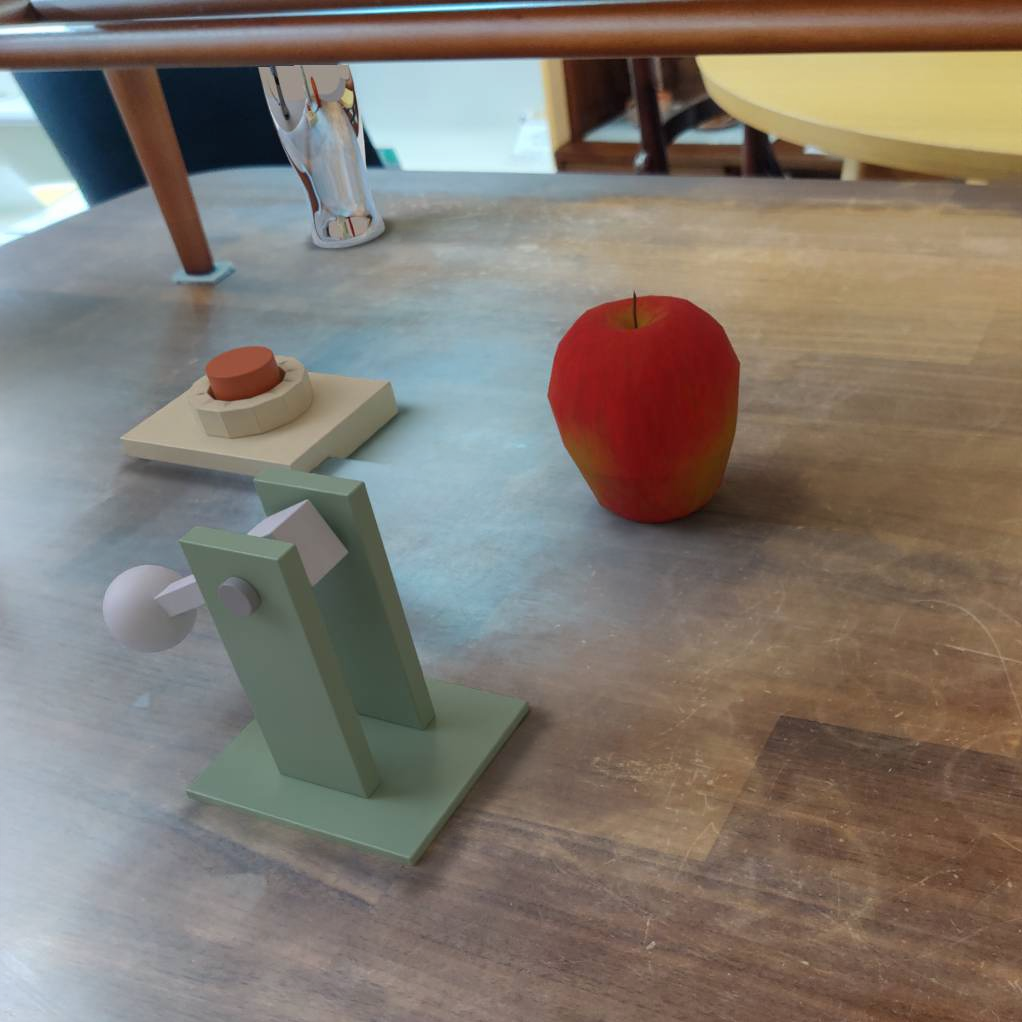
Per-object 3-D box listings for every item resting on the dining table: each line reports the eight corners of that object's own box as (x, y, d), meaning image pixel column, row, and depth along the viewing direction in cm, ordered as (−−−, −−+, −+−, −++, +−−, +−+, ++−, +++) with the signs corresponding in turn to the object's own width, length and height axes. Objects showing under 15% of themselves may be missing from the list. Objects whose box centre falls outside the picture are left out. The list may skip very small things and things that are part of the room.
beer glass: (362, 214, 105) (312, 26, 95) (406, 229, 100) (358, 34, 91) (293, 241, 101) (234, 49, 92) (335, 257, 97) (278, 58, 88)
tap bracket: (195, 813, 49) (64, 558, 41) (326, 674, 55) (234, 428, 47) (419, 883, 45) (322, 613, 37) (534, 724, 51) (472, 463, 43)
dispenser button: (201, 400, 71) (190, 373, 70) (244, 369, 74) (234, 343, 73) (253, 407, 69) (243, 380, 68) (295, 375, 72) (286, 348, 71)
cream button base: (132, 469, 73) (106, 410, 70) (238, 392, 80) (217, 335, 77) (301, 498, 68) (280, 436, 65) (399, 412, 75) (383, 353, 72)
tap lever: (128, 677, 50) (68, 609, 49) (186, 625, 52) (130, 559, 51) (311, 613, 42) (245, 529, 40) (370, 554, 44) (310, 473, 43)
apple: (749, 459, 65) (734, 243, 58) (750, 554, 58) (733, 323, 51) (581, 470, 66) (544, 260, 59) (562, 565, 60) (518, 341, 52)
